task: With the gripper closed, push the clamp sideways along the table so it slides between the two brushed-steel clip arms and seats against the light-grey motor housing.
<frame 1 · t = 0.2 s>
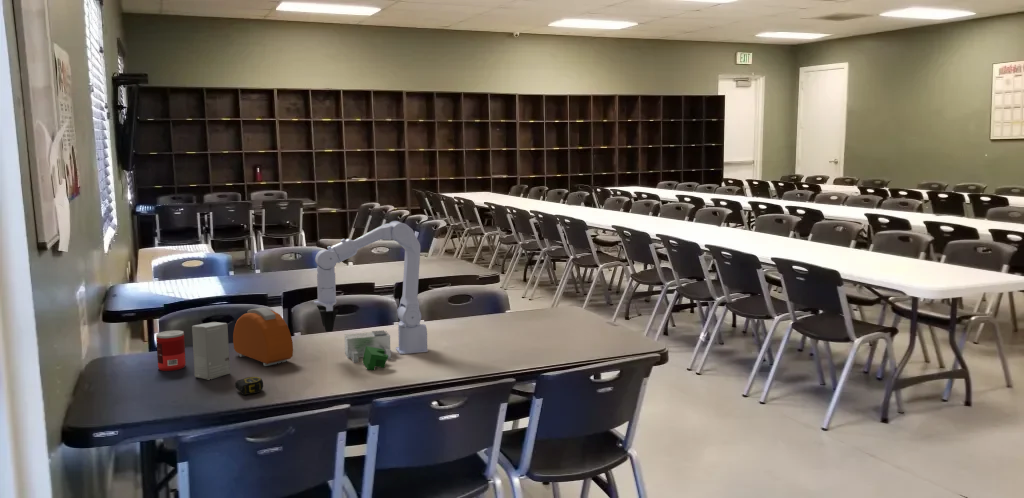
hand: (327, 328, 244), 10 cm above the table, fingers open, 7 cm apart
motor housing: (367, 353, 251), on the table
skincare box: (212, 376, 227), on the table
tape measure: (248, 394, 211), on the table
canned food: (172, 368, 235), on the table
clamp: (375, 367, 237), on the table
orange toaster: (263, 359, 245), on the table
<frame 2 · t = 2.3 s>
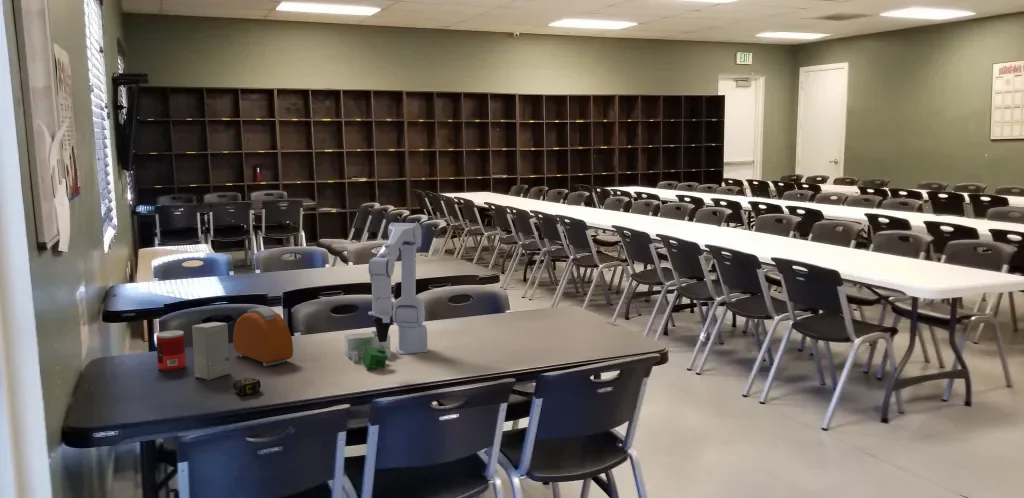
hand: (382, 341, 227), 10 cm above the table, fingers closed
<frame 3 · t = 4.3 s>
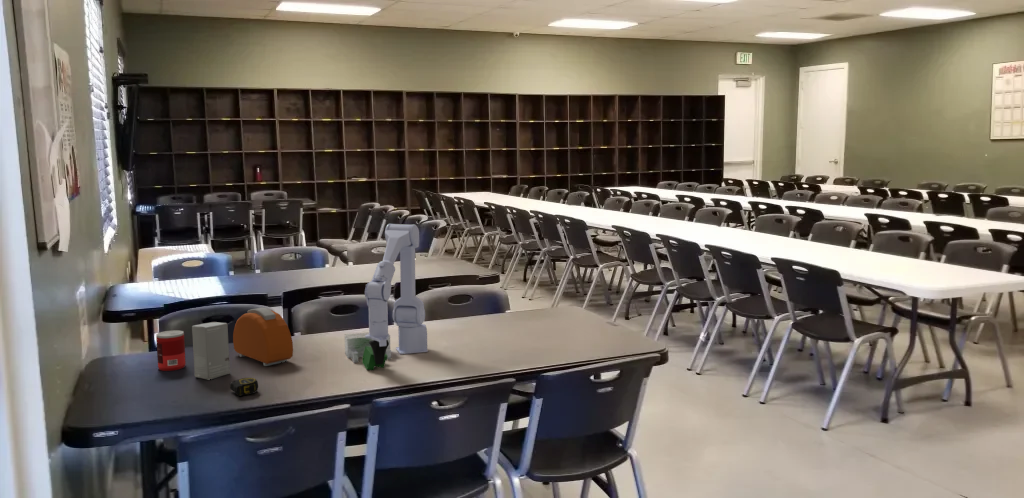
hand: (379, 363, 231), 2 cm above the table, fingers closed
clamp: (375, 367, 237), on the table, touching gripper
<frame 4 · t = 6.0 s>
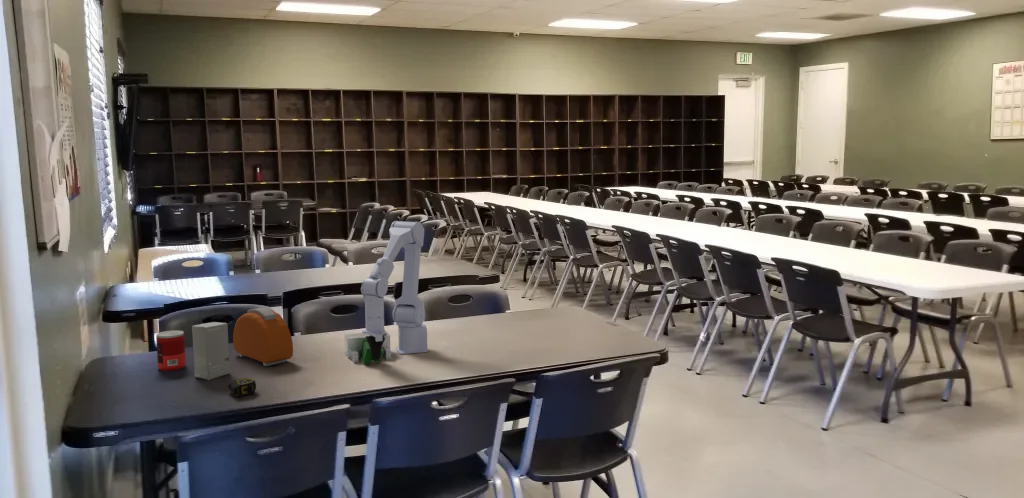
hand: (375, 358, 237), 2 cm above the table, fingers closed
clamp: (372, 361, 243), on the table, touching gripper
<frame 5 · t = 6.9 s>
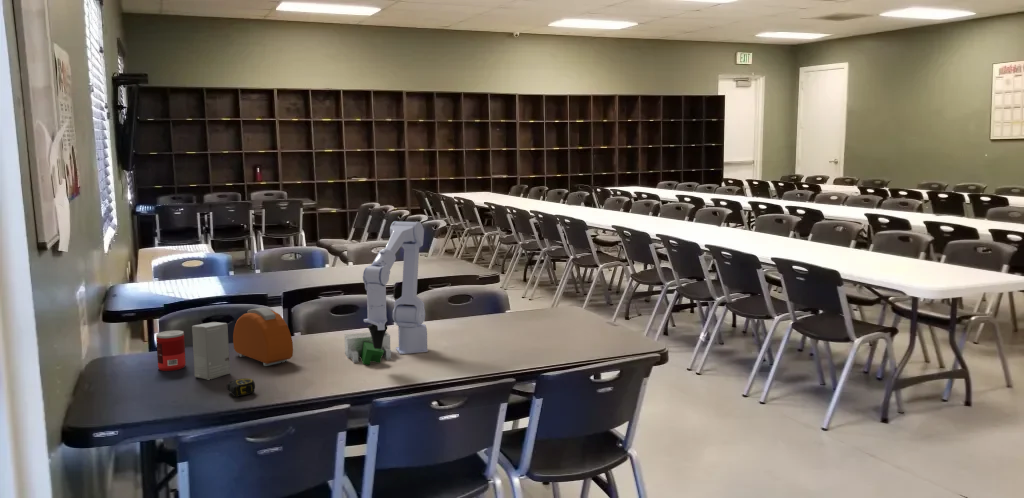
hand: (377, 347, 233), 7 cm above the table, fingers closed
clamp: (372, 362, 243), on the table
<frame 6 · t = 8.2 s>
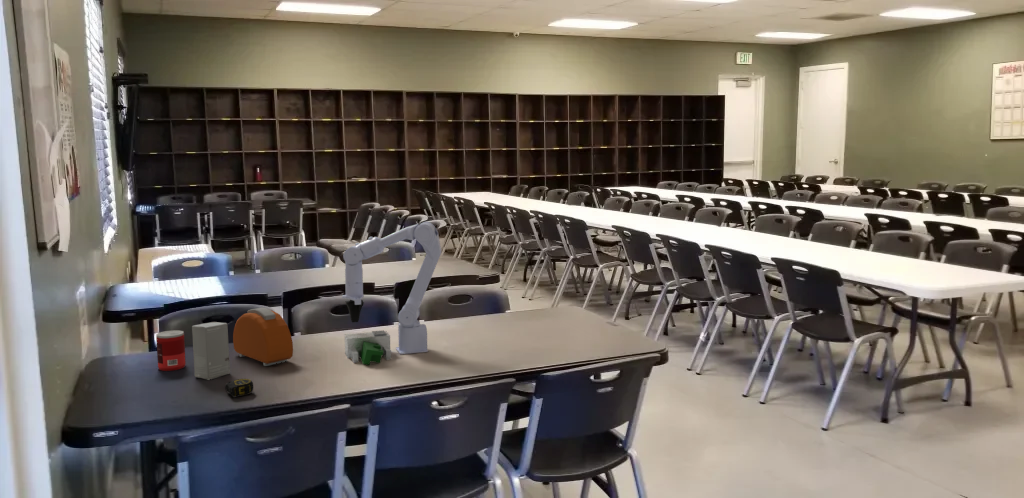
hand: (354, 321, 254), 10 cm above the table, fingers closed
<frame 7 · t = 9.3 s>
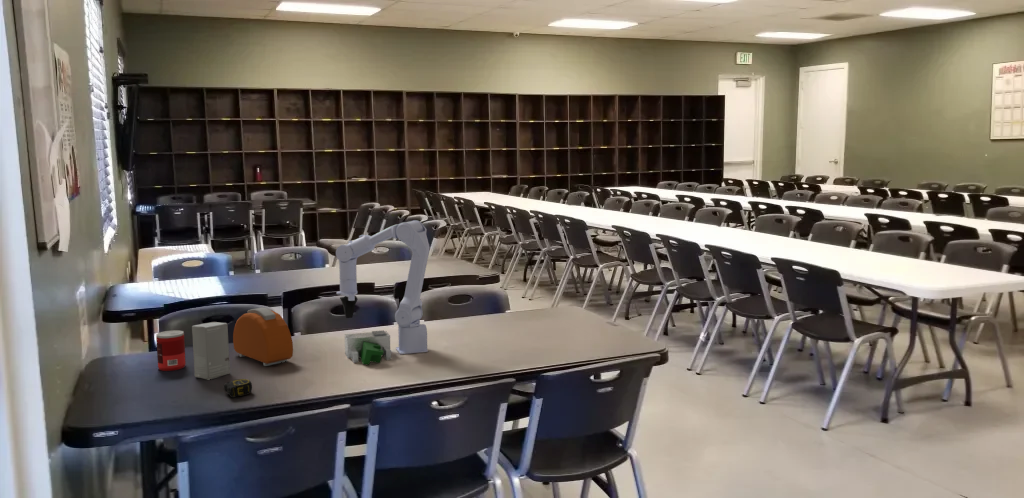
hand: (349, 317, 261), 10 cm above the table, fingers closed
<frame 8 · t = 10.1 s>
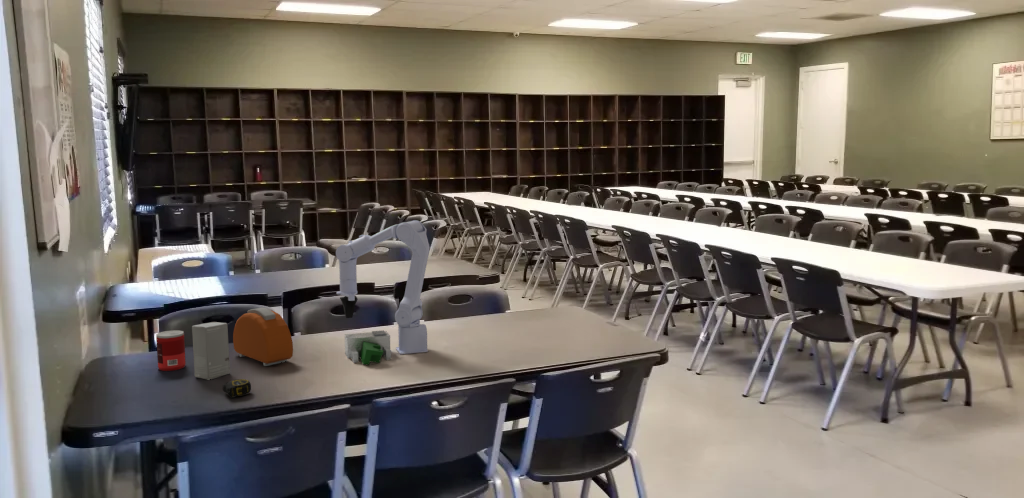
hand: (349, 317, 261), 10 cm above the table, fingers closed
at the end: clamp 0.2 cm from the target spot, on the table; clamp moved 6.3 cm from its start; clamp tilted 1° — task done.
